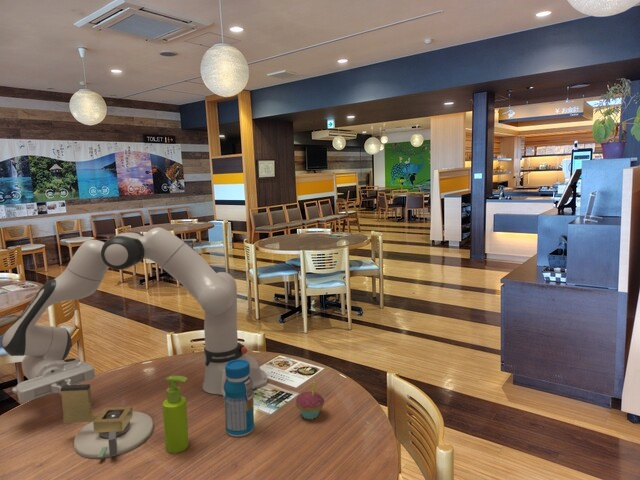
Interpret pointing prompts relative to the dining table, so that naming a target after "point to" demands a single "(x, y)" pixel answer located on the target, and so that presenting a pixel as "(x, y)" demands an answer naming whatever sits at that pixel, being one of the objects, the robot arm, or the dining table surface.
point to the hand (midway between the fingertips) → (66, 389)
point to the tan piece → (80, 410)
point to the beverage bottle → (238, 398)
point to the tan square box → (106, 434)
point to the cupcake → (309, 403)
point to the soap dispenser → (175, 417)
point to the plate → (123, 442)
